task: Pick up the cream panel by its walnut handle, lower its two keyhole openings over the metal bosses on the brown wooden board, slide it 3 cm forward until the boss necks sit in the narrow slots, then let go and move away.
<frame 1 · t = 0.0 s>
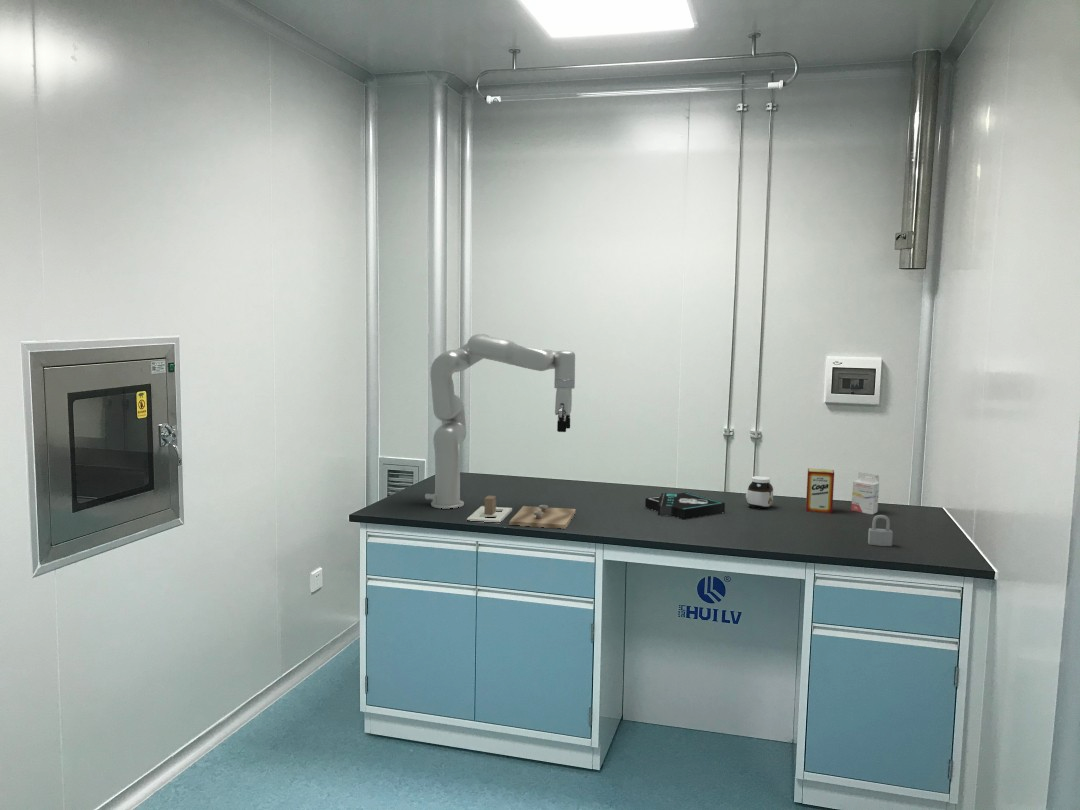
hand: (563, 430, 308), 31 cm above the worktop, tool pointing down, fingers open, 9 cm apart
ink cartridge box: (864, 512, 319), on the worktop
panel: (490, 515, 304), on the worktop
flat black box: (684, 511, 318), on the worktop
board: (543, 519, 301), on the worktop
padlock: (879, 545, 273), on the worktop
baking soda box: (818, 510, 320), on the worktop
spread jar: (757, 506, 326), on the worktop
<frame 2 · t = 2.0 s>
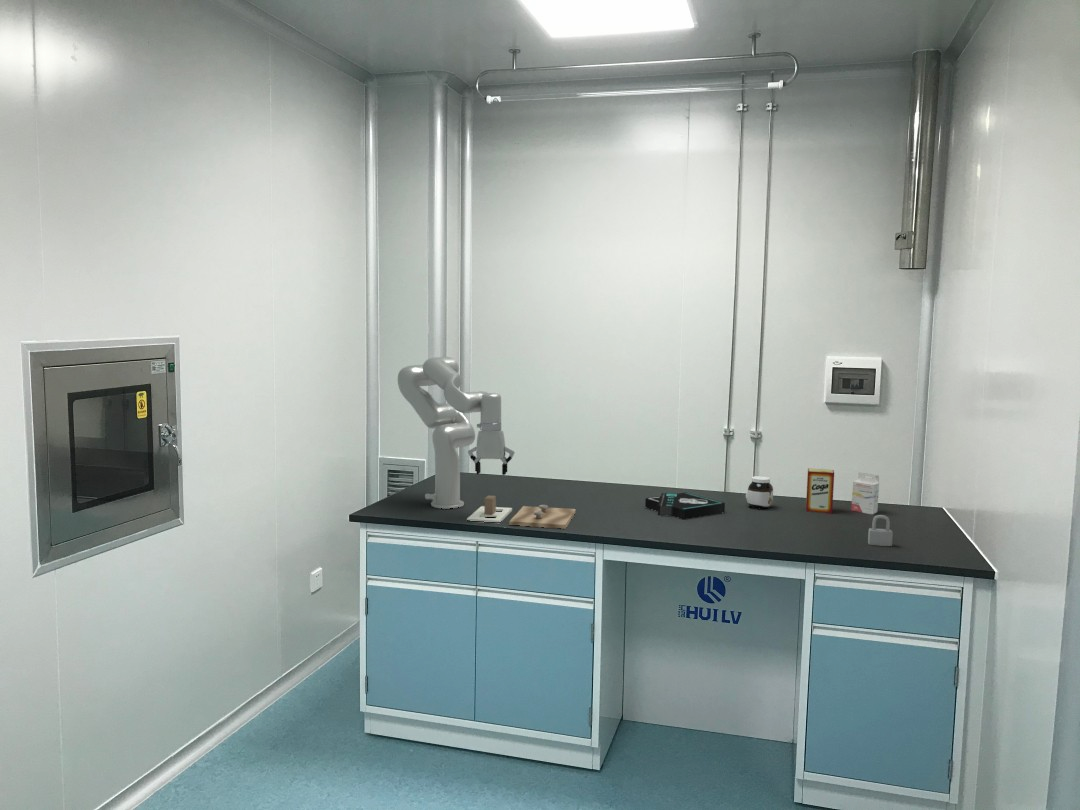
hand: (491, 473, 302), 16 cm above the worktop, tool pointing down, fingers open, 9 cm apart
nothing on the worktop moved.
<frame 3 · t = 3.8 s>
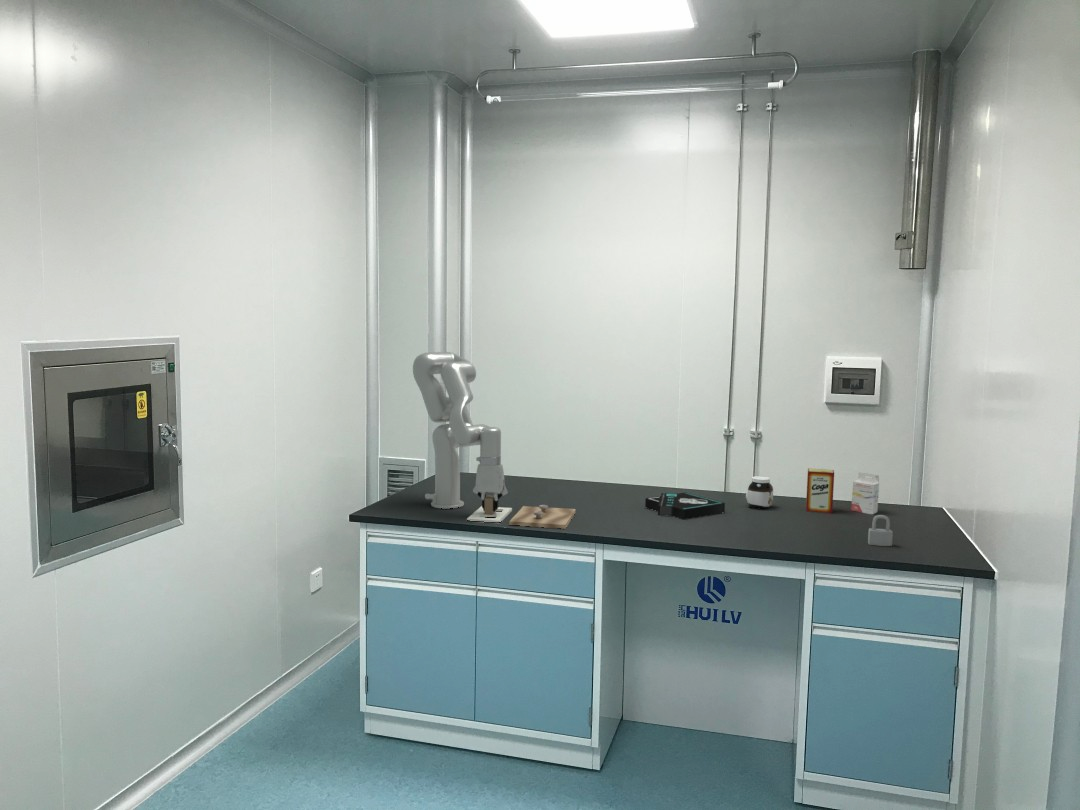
hand: (490, 509, 304), 2 cm above the worktop, tool pointing down, fingers closed on panel, 3 cm apart
panel: (490, 515, 304), on the worktop, touching gripper
everything else where it was.
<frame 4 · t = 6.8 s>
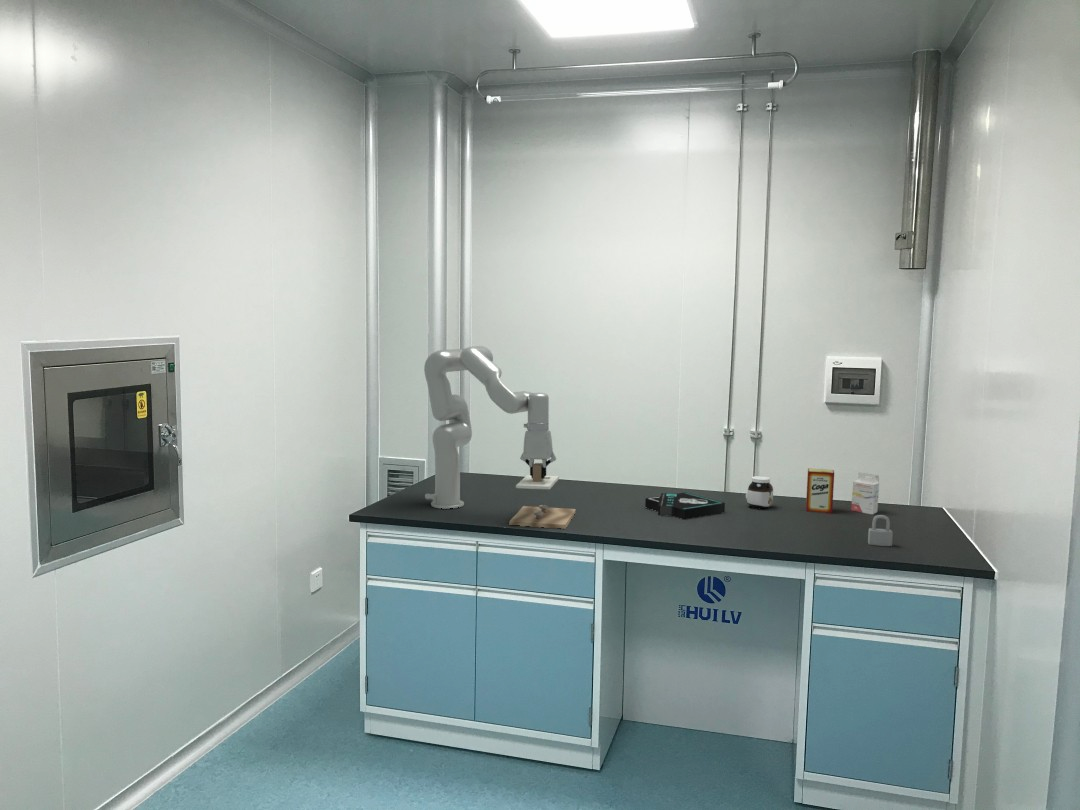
hand: (538, 477, 299), 15 cm above the worktop, tool pointing down, fingers closed on panel, 3 cm apart
panel: (538, 483, 300), point 13 cm above the worktop, touching gripper
everything else where it was.
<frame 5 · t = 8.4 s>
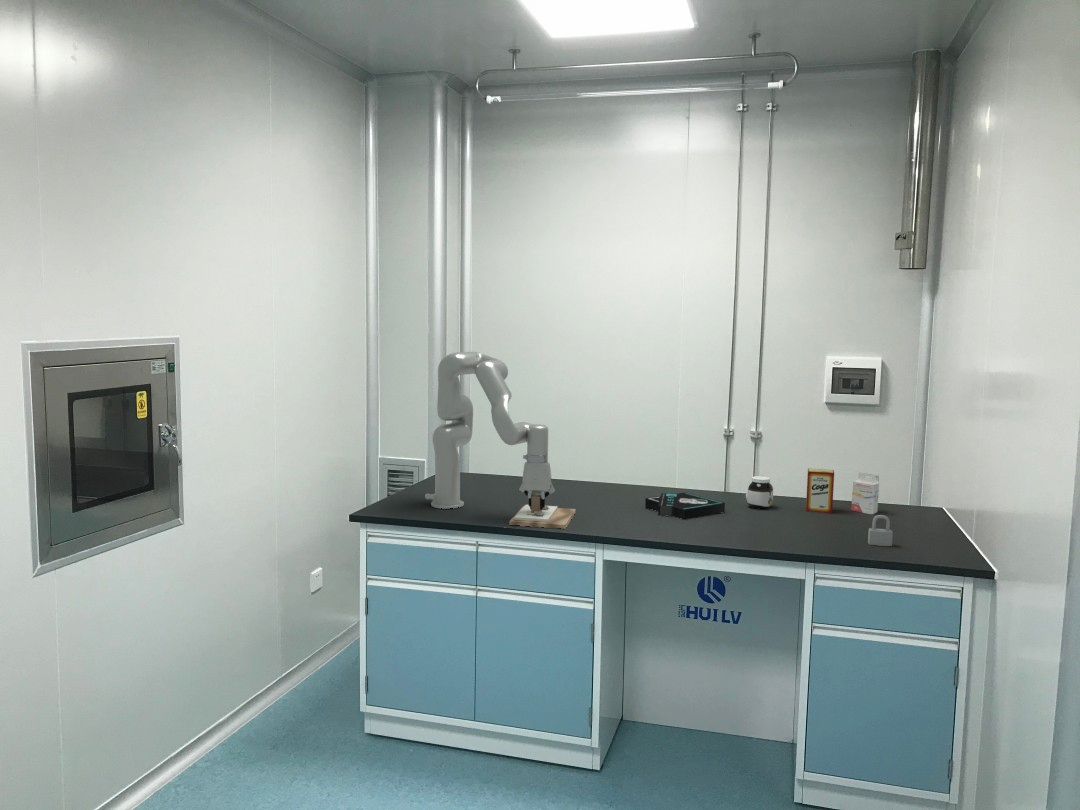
hand: (536, 508, 301), 4 cm above the worktop, tool pointing down, fingers closed on panel, 3 cm apart
panel: (536, 514, 301), point 2 cm above the worktop, touching gripper
everything else where it was.
when the fingers open (4 cm above the worktop, at t = 9.8 s): panel stays where it is, resting on board.
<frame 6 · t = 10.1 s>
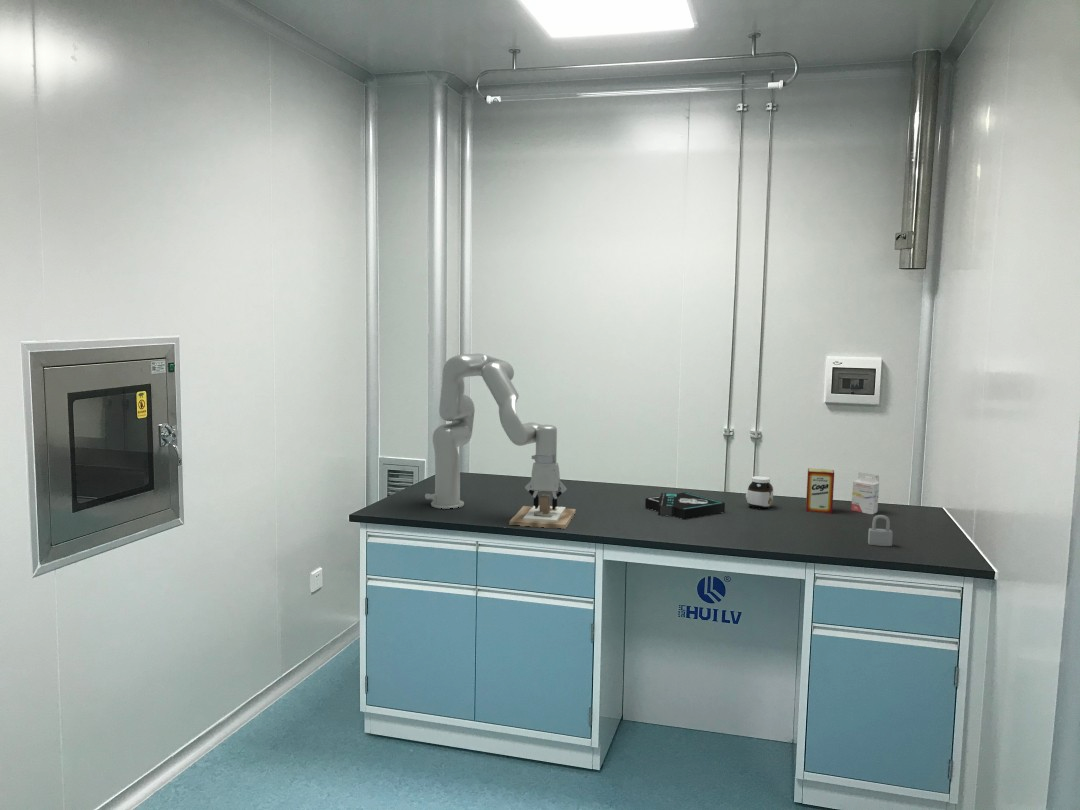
hand: (545, 508, 300), 4 cm above the worktop, tool pointing down, fingers open, 5 cm apart
panel: (544, 515, 300), point 1 cm above the worktop, touching board
everything else where it was.
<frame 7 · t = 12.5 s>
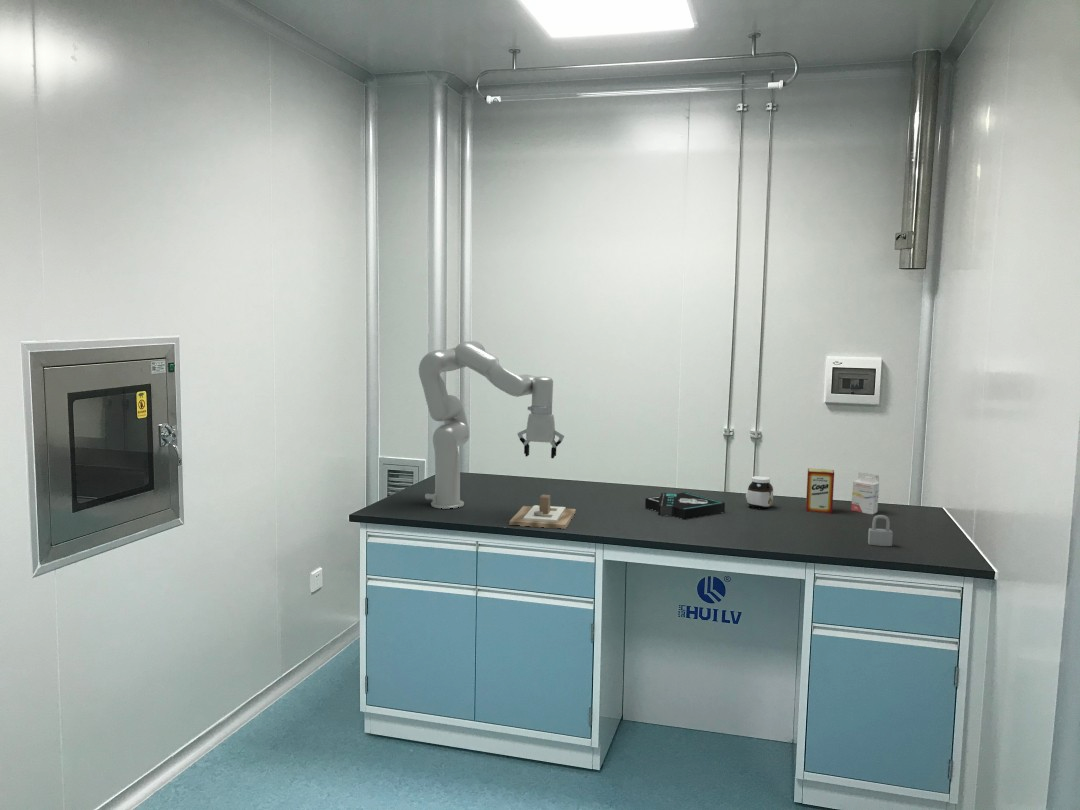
hand: (539, 456, 304), 22 cm above the worktop, tool pointing down, fingers open, 9 cm apart
nothing on the worktop moved.
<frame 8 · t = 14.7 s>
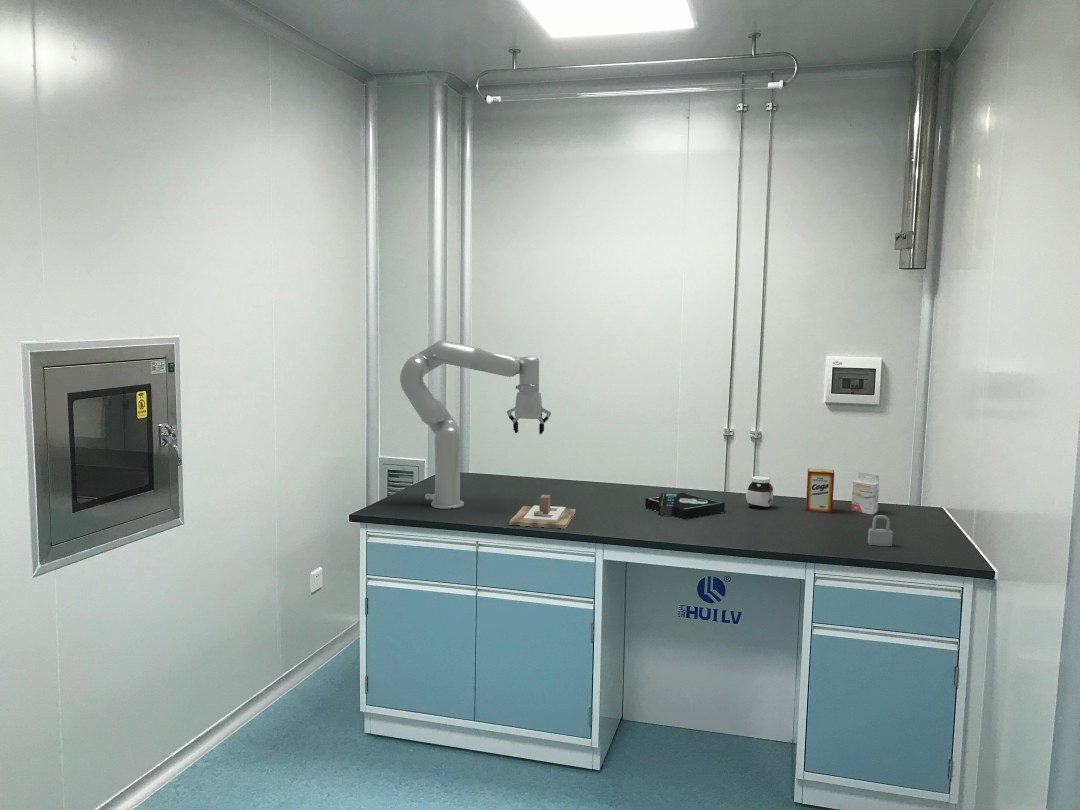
hand: (528, 433, 319), 28 cm above the worktop, tool pointing down, fingers open, 9 cm apart
nothing on the worktop moved.
at the end: panel 0.1 cm off-centre on the board, point 1.5 cm above the board's base; panel tilted 0°; the gripper is holding nothing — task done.
